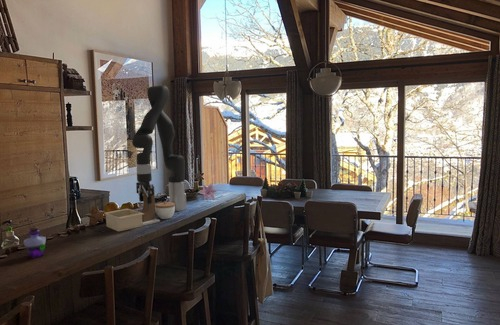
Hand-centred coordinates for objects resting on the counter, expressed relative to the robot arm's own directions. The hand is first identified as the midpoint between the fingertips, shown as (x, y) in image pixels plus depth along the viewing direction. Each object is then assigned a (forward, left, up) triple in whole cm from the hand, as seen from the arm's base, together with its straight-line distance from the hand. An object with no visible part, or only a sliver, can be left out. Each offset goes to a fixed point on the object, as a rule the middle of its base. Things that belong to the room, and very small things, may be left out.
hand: (145, 202), depth 213 cm
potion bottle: (+59, +15, -11) cm, 62 cm away
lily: (-62, -25, -11) cm, 68 cm away
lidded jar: (-12, 0, -11) cm, 16 cm away
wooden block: (0, 0, -10) cm, 10 cm away
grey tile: (0, 0, -11) cm, 11 cm away
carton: (+13, 0, -11) cm, 16 cm away
